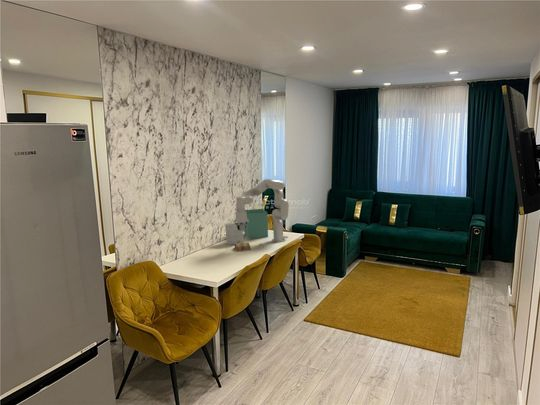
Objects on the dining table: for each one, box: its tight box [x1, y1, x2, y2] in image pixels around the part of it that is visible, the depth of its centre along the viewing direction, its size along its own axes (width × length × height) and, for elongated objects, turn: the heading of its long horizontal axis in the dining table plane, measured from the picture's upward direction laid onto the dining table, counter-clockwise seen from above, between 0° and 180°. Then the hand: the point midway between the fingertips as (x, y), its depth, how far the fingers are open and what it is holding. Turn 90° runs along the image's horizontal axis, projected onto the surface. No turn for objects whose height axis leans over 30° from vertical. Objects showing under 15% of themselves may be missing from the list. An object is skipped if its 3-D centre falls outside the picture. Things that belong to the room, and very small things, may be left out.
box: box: [243, 208, 269, 240], centre depth 403 cm, size 23×21×26 cm
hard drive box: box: [225, 222, 244, 245], centre depth 375 cm, size 16×8×20 cm, turn 84°
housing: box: [239, 222, 245, 232], centre depth 353 cm, size 8×5×7 cm, turn 16°
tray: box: [234, 242, 251, 252], centre depth 356 cm, size 12×12×4 cm
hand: (241, 229), depth 353 cm, fingers closed on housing, 5 cm apart
